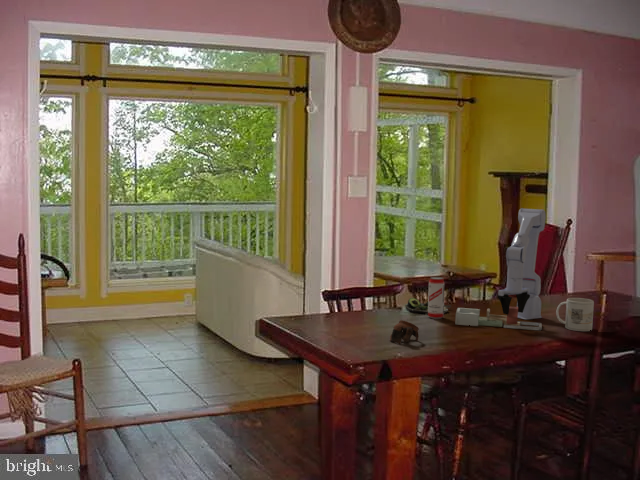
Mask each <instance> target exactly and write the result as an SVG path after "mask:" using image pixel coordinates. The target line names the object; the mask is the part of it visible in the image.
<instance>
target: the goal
mask: <svg viewBox="0 0 640 480" xmlns="http://www.w3.org/2000/svg"><path fill="white" fill-rule="evenodd" d="M480 311H481V309H480V308H479V309H478V308H465V307H457V309H456V312H455V321H454V322H455V325H460V326H469V325H470V327H471V326H472V327H479V325H478V316H479V317H481V316H480V313H481V312H480ZM471 313H475V314H471Z"/></svg>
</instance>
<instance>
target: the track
mask: <svg viewBox="0 0 640 480" xmlns="http://www.w3.org/2000/svg"><path fill="white" fill-rule="evenodd" d="M486 319H487V316H478V326H487V327H498V328H499V327H501V328H502V327H503V328H505V329H514V330H515V329H517V330H529V331H541V330H542V331H543V327H542V326H543V325H542V322H530V321H521V320H520V321H517V322H520V326H516V325H504V321H503V320H486Z"/></svg>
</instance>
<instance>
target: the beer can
mask: <svg viewBox="0 0 640 480" xmlns="http://www.w3.org/2000/svg"><path fill="white" fill-rule="evenodd" d="M427 296H428V297H427V299H428V301H427V302H428V314H427V316H428V317H429V318H430V319H432V320H433V319H435V320H440V319H443V317H444V315H445V313H444V305H445V281H444V277H442V276H441V277H440V276H431V277H430V279H429V280H428V295H427Z"/></svg>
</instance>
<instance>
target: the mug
mask: <svg viewBox="0 0 640 480" xmlns="http://www.w3.org/2000/svg"><path fill="white" fill-rule="evenodd" d="M594 301H595V300H593V299H590V298H586V297H585V298H583V297H569V298H567V299H566V301H562V302H560V303H559V304H558V305H557V308H556V311H555V314H556V318H557V320H558V321H559V322H560V323H561V324H564V328H565V329H567V330H570V331H575V332H576V331H577V332H591V331H592V330H593V323H594V322H593V320H594V319H593V318H594V308H595V307H594V306H595V302H594ZM563 305H565V307H566V308H565V320H563V319H562V318H561V317H560V314H559V310H560V308H561V306H563ZM590 330H591V331H590Z"/></svg>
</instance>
